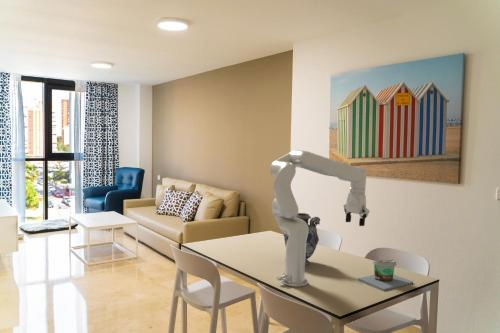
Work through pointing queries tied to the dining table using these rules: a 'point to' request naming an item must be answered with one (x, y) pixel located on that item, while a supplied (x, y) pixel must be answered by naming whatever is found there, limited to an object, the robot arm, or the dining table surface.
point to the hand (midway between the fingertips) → (354, 223)
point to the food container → (384, 270)
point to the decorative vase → (312, 234)
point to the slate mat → (385, 286)
